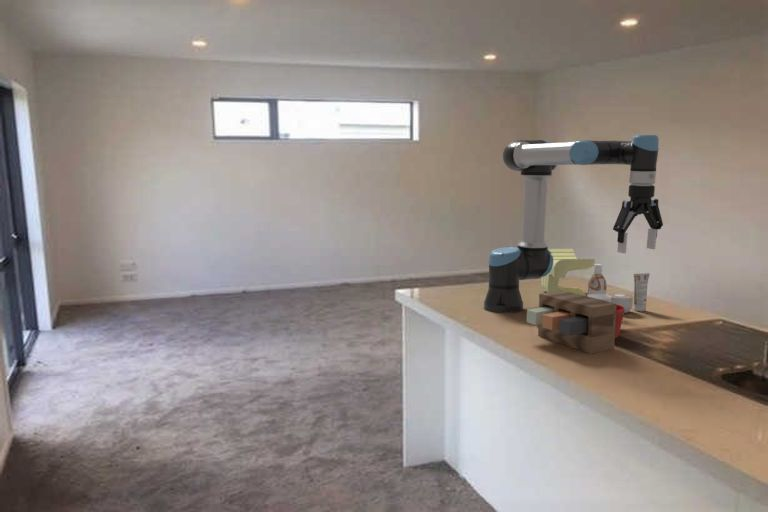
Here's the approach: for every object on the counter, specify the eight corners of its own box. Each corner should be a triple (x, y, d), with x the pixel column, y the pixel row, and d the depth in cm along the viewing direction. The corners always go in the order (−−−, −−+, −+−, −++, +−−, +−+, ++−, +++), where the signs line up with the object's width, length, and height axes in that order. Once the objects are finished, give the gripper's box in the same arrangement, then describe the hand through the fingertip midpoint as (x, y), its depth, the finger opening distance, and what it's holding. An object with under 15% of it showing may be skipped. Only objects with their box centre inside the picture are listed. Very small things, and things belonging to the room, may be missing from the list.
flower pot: (580, 333, 196) (582, 304, 194) (606, 329, 200) (607, 301, 198) (604, 341, 186) (605, 311, 184) (630, 337, 190) (632, 308, 189)
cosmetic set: (639, 307, 230) (642, 260, 227) (655, 313, 221) (658, 263, 218) (581, 311, 225) (583, 262, 222) (594, 317, 216) (597, 266, 213)
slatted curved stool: (536, 287, 269) (537, 248, 266) (571, 287, 269) (572, 248, 266) (553, 302, 240) (554, 259, 237) (592, 302, 239) (594, 259, 236)
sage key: (526, 322, 187) (527, 309, 187) (549, 317, 192) (550, 305, 192) (535, 324, 184) (535, 312, 183) (559, 320, 189) (559, 308, 188)
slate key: (559, 332, 175) (559, 319, 175) (583, 327, 180) (583, 315, 179) (569, 335, 172) (570, 322, 171) (593, 331, 177) (594, 318, 176)
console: (538, 335, 193) (539, 293, 191) (560, 331, 198) (561, 290, 196) (590, 353, 174) (593, 307, 172) (614, 348, 179) (616, 303, 177)
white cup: (611, 327, 202) (613, 299, 201) (587, 326, 204) (588, 298, 202) (607, 321, 210) (609, 294, 208) (584, 320, 211) (585, 293, 210)
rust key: (542, 327, 181) (542, 314, 181) (566, 322, 186) (566, 310, 185) (551, 330, 178) (552, 317, 177) (575, 325, 183) (576, 313, 182)
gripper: (623, 187, 177) (618, 256, 181) (678, 183, 188) (672, 248, 192) (604, 185, 183) (599, 252, 188) (658, 182, 195) (652, 245, 199)
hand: (636, 250), depth 190 cm, fingers open, 13 cm apart
